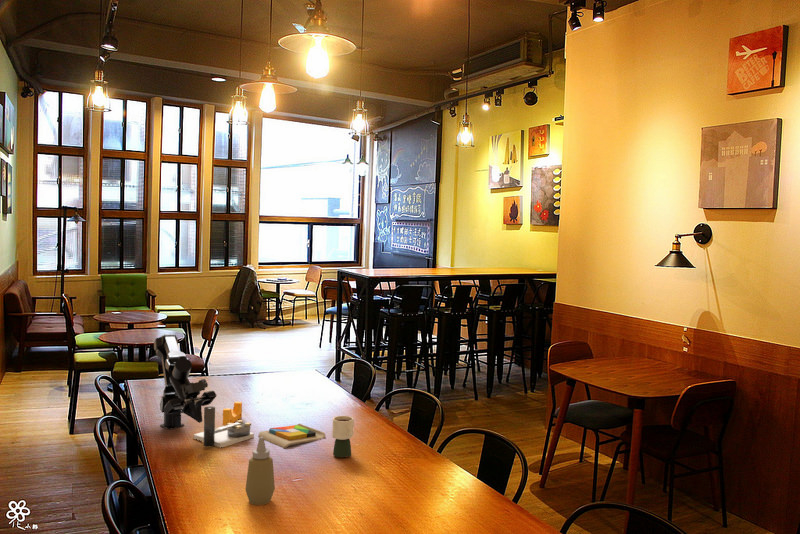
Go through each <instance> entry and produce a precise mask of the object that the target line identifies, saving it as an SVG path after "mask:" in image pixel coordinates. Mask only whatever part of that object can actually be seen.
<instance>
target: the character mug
mask: <svg viewBox="0 0 800 534" xmlns="http://www.w3.org/2000/svg"><path fill="white" fill-rule="evenodd" d="M354 420H355V419H354V417H352V416H349V415H337V416H334V417H333V418H332V431H331V432H332V433H331V434H332V438H333V439H334V446H333V451H332V455H333V456H334V457H336V458H343V459H344V458H347V457H351V456H352V446H351V445H352V444H351V440H350V439H351V438H353V436H354V425H355V422H354Z"/></svg>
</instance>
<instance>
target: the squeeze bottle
mask: <svg viewBox="0 0 800 534" xmlns="http://www.w3.org/2000/svg"><path fill="white" fill-rule="evenodd" d="M265 443H266V441H265V440H264V438H263V437H260V438H259V437H258V443H257V447H256V448H255V449H253V450H252V456H251V458H250V459H248V467H247V474H246V480H245V483H246V484H245V492H246V493H245V494H246V495H247V496H246V497H247V499H248V502H249V504H251V505H254V506H255V505H256V506H263V505H266V504H268V503H270V502H271V501H272V497H273V494H274V493H275V492H274V491H275V489H276V487H275V475H274V474H275V473H274V471H275V470H274V461H273V458H272V457H271V456H270V455H271V454H270V449H268V448H266V444H265Z"/></svg>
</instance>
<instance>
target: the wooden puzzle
mask: <svg viewBox="0 0 800 534" xmlns="http://www.w3.org/2000/svg"><path fill="white" fill-rule="evenodd" d="M260 437H263V438H264V441H265V442H268V443H271V444H272V445H275V446H278V447H280V448H283V449H286V448H288V447H289V446H292V445H293V446H294V445H298V444H304V443H311V442H315V440H316V441H319V440H318V439H320V440H322V439H321V438H323V439H325V438H326V433H325V432H323V431H321V430H318V429H316V428H314V427H310V426H308V425H304V424H302V423H298V424H294V425H286V426H285V425H284V426H279V427H278V426H277V427H270V428H269V429H268V430H264V431H261V432H259V433H258V439H259V438H260Z"/></svg>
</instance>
